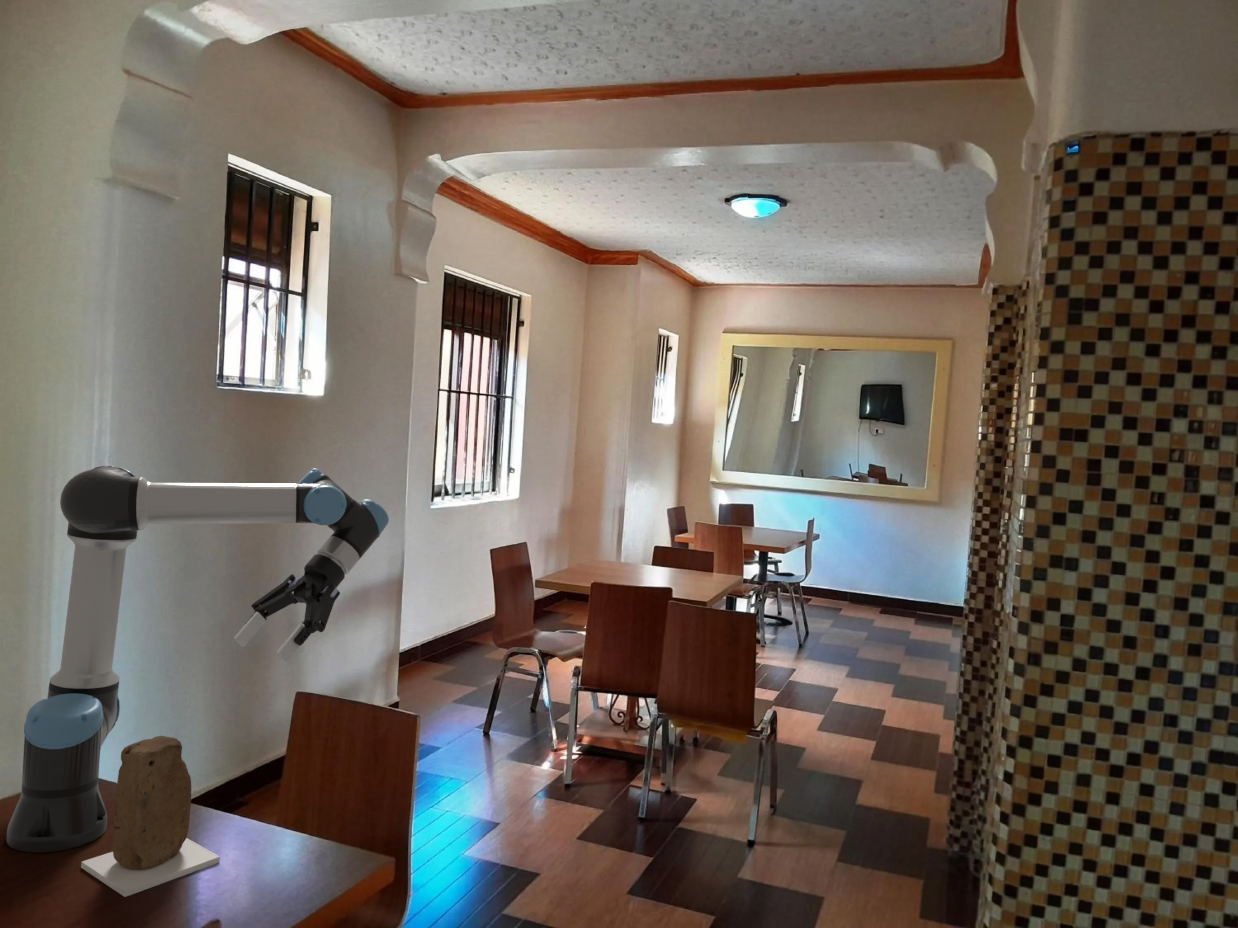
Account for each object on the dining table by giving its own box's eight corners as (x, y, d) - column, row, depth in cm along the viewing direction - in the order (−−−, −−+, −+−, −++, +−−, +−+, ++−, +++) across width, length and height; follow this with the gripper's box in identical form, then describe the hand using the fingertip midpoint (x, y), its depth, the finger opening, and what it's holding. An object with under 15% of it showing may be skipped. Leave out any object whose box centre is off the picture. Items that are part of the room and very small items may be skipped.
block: (133, 876, 147) (140, 754, 146) (105, 863, 151) (113, 743, 150) (193, 852, 156) (201, 737, 156) (166, 840, 160) (173, 728, 159)
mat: (81, 867, 151) (81, 861, 151) (174, 836, 164) (175, 831, 164) (124, 896, 143) (125, 890, 143) (219, 862, 156) (219, 856, 156)
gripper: (382, 586, 179) (312, 674, 167) (302, 568, 193) (233, 648, 181) (362, 561, 174) (289, 650, 162) (282, 544, 188) (209, 625, 176)
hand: (259, 649), depth 172 cm, fingers open, 13 cm apart
